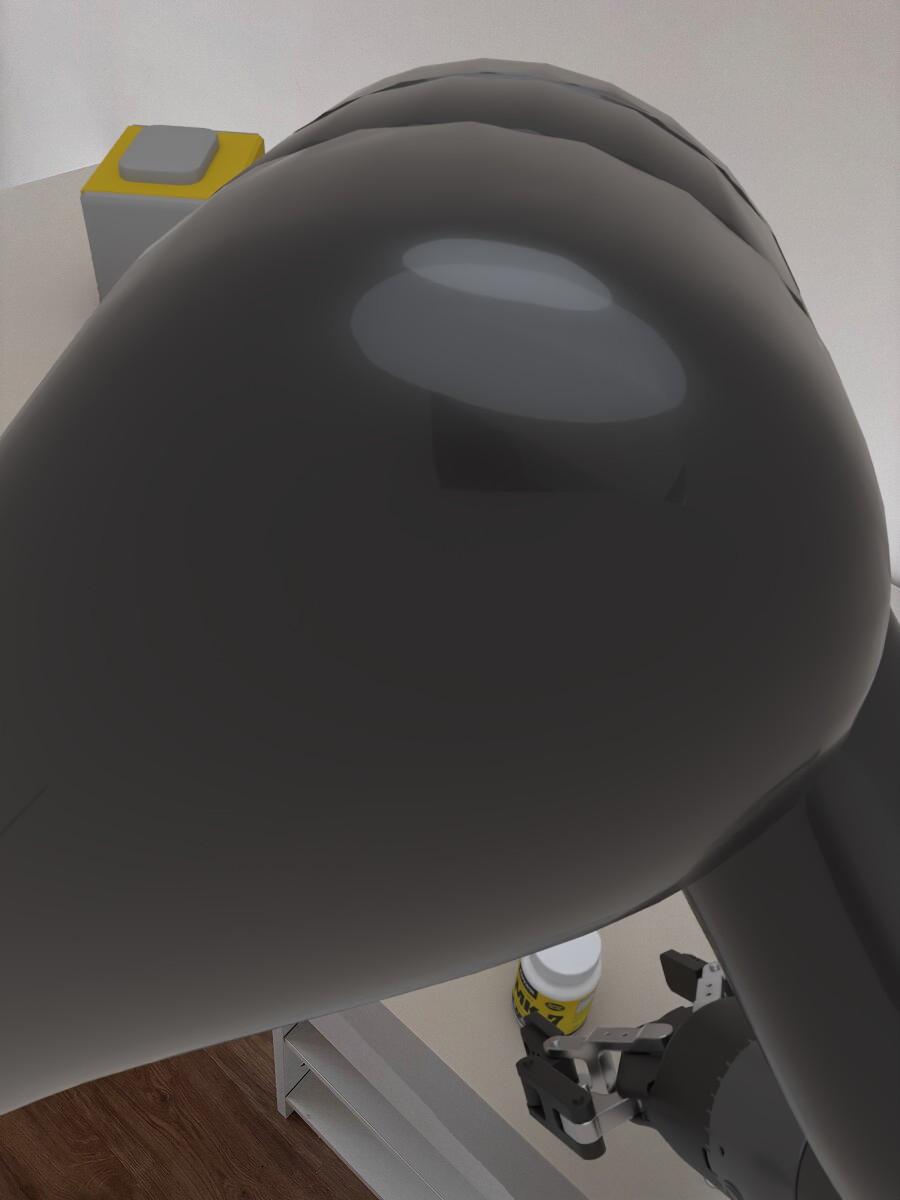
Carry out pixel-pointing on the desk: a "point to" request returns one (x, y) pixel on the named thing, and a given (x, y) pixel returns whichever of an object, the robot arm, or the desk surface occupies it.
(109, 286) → the alarm clock
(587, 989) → the supplement bottle
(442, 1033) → the desk surface
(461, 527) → the robot arm
